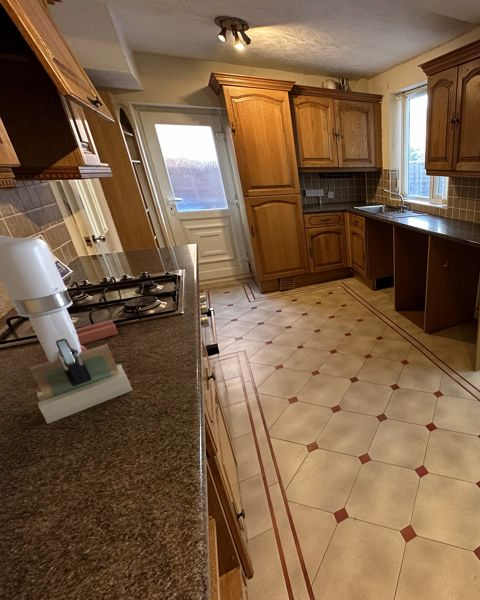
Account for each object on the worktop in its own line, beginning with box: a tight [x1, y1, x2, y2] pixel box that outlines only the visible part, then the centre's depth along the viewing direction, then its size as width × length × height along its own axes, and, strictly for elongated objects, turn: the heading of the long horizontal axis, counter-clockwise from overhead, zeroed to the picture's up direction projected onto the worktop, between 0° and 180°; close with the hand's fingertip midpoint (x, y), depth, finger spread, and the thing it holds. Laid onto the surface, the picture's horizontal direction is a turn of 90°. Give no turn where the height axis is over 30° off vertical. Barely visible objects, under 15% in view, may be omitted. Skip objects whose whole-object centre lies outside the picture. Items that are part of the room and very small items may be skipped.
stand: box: [75, 319, 119, 345], centre depth 94 cm, size 8×14×4 cm, turn 138°
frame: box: [29, 343, 119, 400], centre depth 70 cm, size 2×12×10 cm, turn 138°
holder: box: [36, 364, 133, 425], centre depth 72 cm, size 8×14×4 cm, turn 138°
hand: (80, 378), depth 70 cm, fingers open, 3 cm apart
